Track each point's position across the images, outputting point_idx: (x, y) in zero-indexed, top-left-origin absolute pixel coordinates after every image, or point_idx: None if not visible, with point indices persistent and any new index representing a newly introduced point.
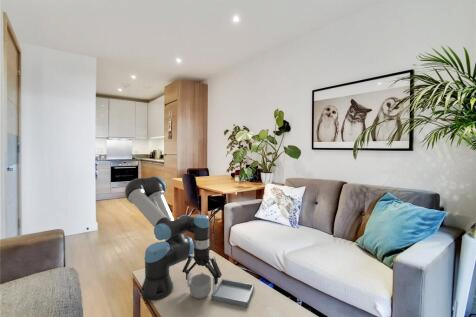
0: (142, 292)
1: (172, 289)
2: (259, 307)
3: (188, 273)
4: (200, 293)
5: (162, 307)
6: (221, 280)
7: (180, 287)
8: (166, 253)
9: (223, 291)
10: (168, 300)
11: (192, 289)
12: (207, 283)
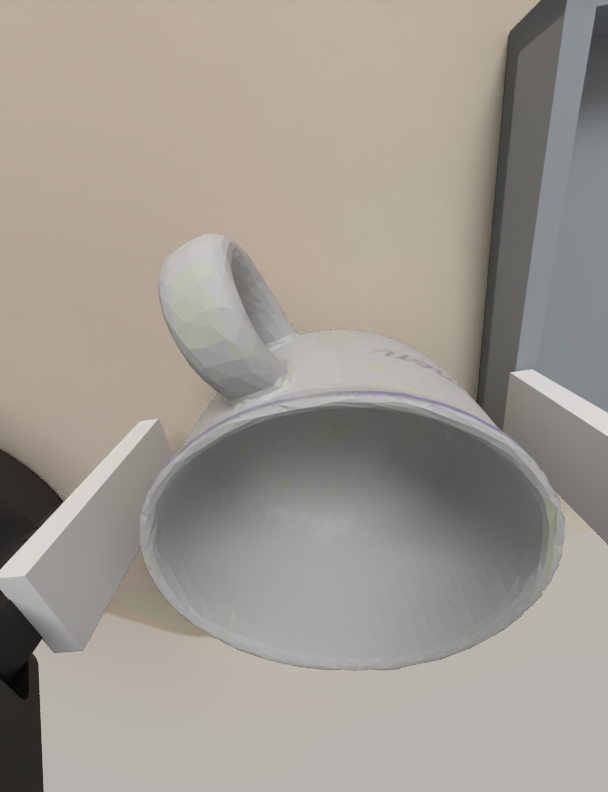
0: None
1: (34, 481)
2: None
3: (31, 629)
4: (400, 559)
5: (168, 617)
6: (573, 61)
7: (56, 409)
8: None
9: (596, 282)
10: (139, 566)
11: (304, 601)
12: (523, 611)
